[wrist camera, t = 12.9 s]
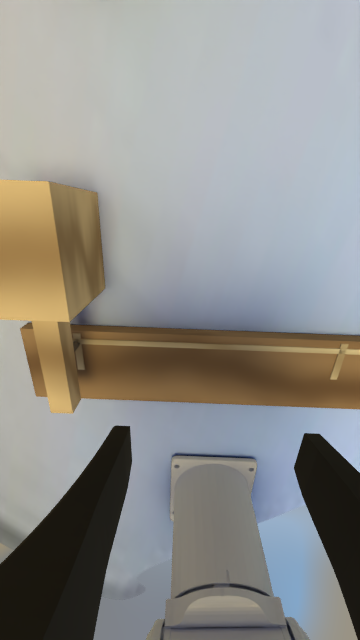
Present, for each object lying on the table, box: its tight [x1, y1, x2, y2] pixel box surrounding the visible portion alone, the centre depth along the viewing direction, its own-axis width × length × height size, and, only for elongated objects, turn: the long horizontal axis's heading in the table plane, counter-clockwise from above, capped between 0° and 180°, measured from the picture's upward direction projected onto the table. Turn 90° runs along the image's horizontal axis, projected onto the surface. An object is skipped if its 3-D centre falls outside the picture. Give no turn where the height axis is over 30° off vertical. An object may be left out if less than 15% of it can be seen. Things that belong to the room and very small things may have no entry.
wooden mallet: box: [0, 180, 105, 413], centre depth 15 cm, size 13×4×6 cm, turn 178°
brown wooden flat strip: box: [20, 323, 360, 409], centre depth 19 cm, size 6×28×1 cm, turn 88°
